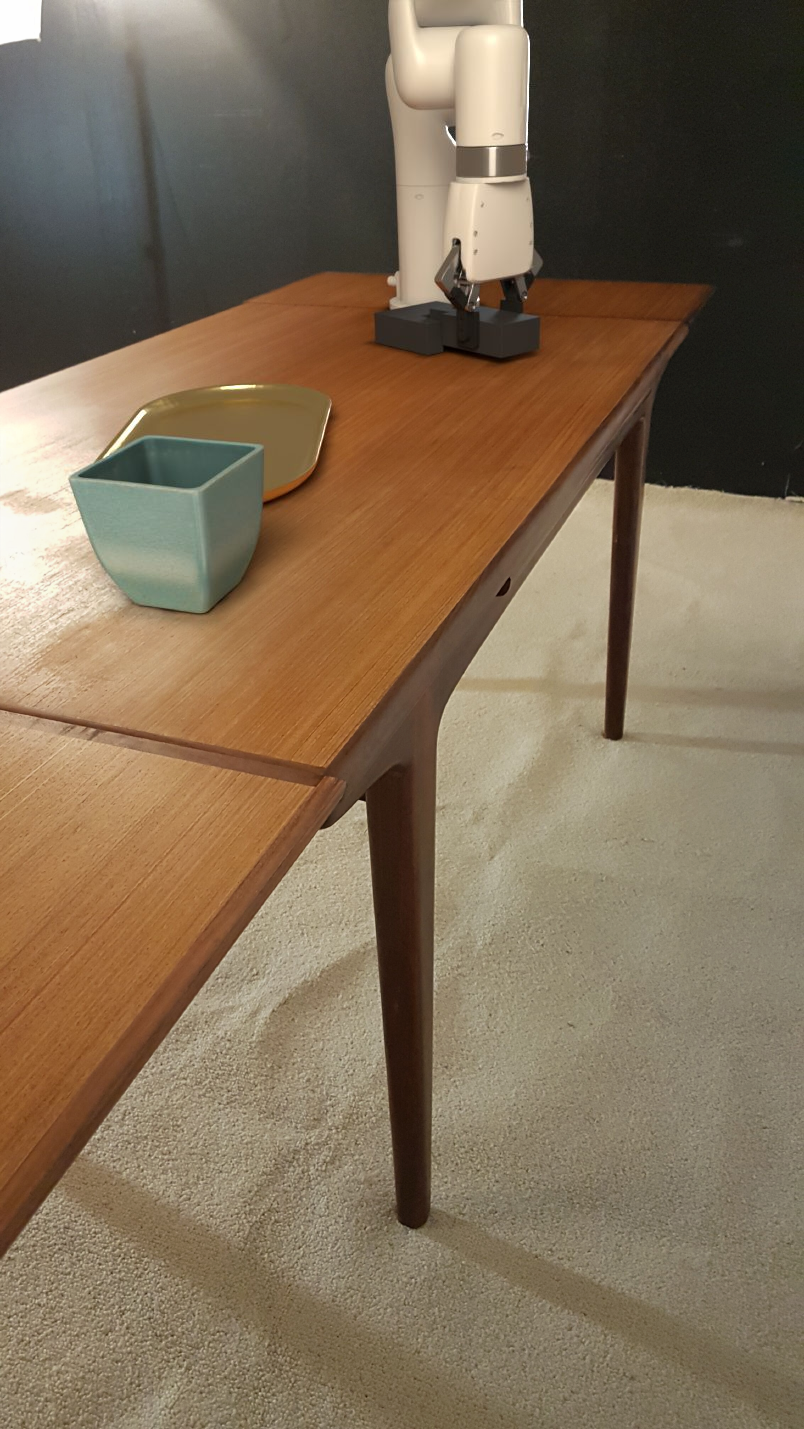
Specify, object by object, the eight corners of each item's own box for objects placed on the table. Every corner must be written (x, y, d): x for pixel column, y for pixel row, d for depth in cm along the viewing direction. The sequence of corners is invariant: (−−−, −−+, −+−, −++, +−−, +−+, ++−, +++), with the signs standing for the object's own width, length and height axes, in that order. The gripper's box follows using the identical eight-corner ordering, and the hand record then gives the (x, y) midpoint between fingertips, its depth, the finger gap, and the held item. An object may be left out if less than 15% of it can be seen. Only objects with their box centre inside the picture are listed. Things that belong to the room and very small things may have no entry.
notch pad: (375, 342, 126) (373, 312, 125) (436, 329, 132) (436, 300, 130) (427, 355, 120) (426, 324, 118) (490, 341, 125) (490, 310, 123)
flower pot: (281, 574, 68) (267, 441, 63) (219, 634, 61) (198, 490, 56) (166, 561, 71) (144, 432, 66) (94, 617, 64) (63, 477, 59)
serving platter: (60, 526, 77) (55, 506, 76) (159, 401, 107) (157, 385, 106) (308, 519, 76) (306, 499, 76) (338, 395, 106) (337, 379, 105)
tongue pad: (422, 340, 122) (421, 309, 121) (459, 332, 126) (459, 302, 124) (501, 358, 113) (501, 325, 111) (539, 349, 116) (540, 316, 115)
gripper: (524, 158, 115) (520, 325, 125) (405, 170, 106) (411, 349, 116) (573, 159, 110) (565, 334, 120) (453, 172, 101) (455, 360, 111)
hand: (489, 340), depth 118 cm, fingers closed on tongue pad, 6 cm apart
